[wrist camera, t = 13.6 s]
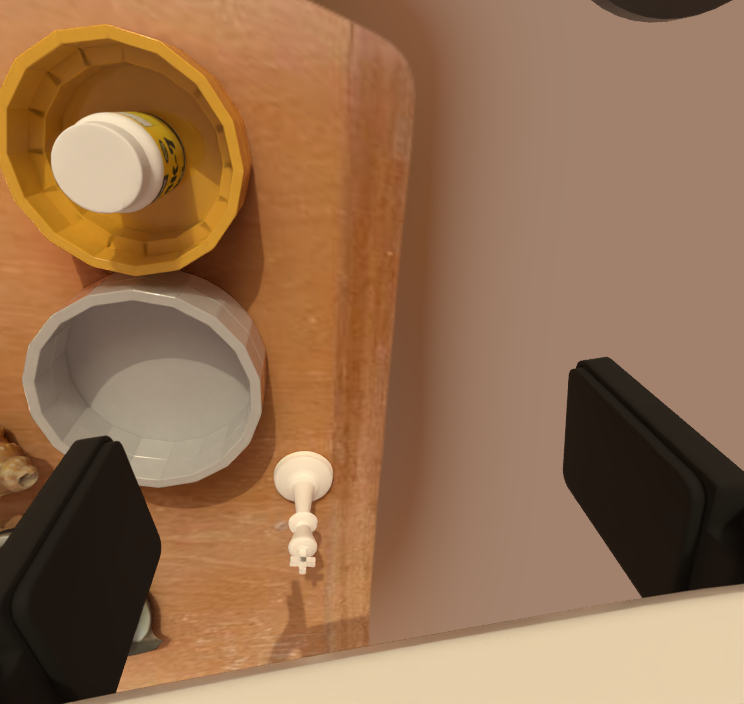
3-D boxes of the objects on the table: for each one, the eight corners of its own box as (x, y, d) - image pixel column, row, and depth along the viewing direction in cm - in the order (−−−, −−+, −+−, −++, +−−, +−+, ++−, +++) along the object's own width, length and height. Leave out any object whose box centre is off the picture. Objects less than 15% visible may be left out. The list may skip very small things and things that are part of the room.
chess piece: (276, 448, 42) (268, 542, 33) (337, 453, 43) (344, 545, 34) (271, 495, 44) (261, 596, 35) (328, 499, 45) (334, 598, 36)
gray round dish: (22, 283, 34) (-21, 311, 30) (244, 252, 35) (234, 274, 30) (98, 458, 41) (72, 502, 36) (284, 428, 41) (281, 468, 37)
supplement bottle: (181, 204, 33) (144, 235, 25) (101, 182, 32) (37, 208, 24) (193, 125, 31) (156, 132, 23) (109, 99, 30) (42, 98, 22)
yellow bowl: (4, 51, 29) (-52, 42, 24) (224, 25, 29) (210, 11, 25) (83, 264, 34) (49, 288, 30) (268, 238, 35) (262, 258, 30)
